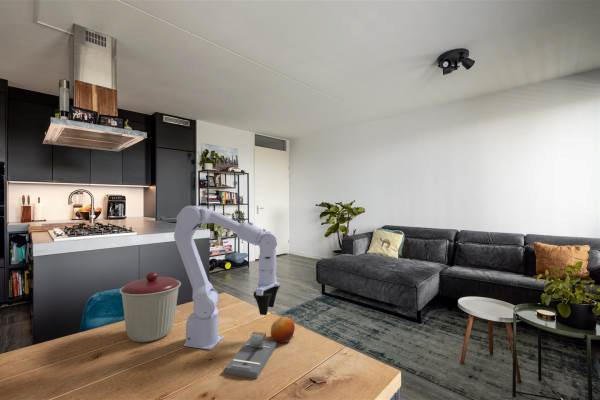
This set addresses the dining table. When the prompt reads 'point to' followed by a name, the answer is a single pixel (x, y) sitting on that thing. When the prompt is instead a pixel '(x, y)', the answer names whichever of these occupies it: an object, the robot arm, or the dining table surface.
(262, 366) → the board
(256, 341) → the fader cap
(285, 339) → the fruit
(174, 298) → the canister
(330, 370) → the dining table surface
